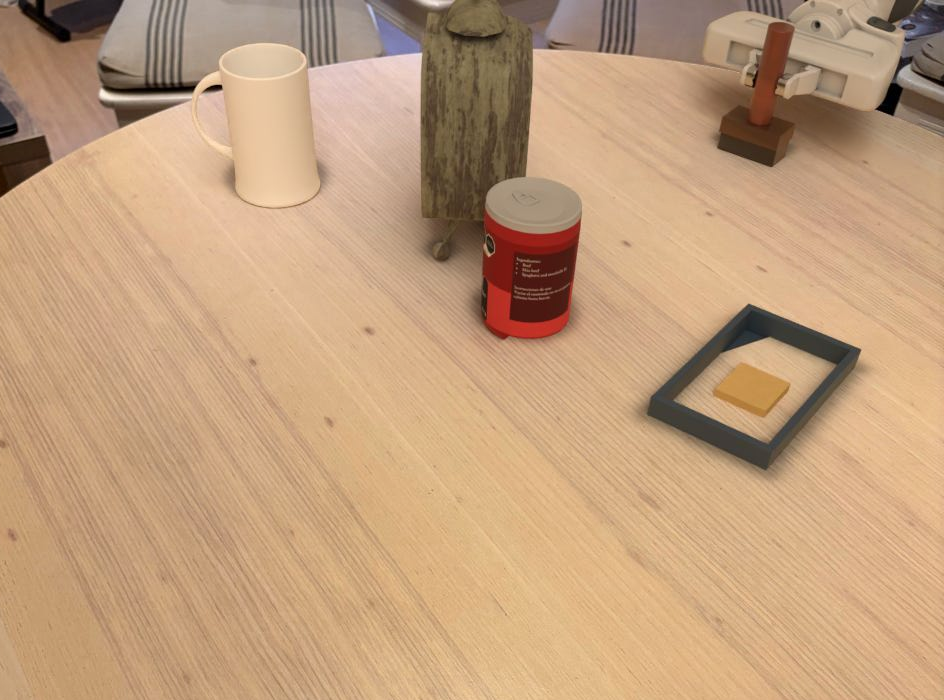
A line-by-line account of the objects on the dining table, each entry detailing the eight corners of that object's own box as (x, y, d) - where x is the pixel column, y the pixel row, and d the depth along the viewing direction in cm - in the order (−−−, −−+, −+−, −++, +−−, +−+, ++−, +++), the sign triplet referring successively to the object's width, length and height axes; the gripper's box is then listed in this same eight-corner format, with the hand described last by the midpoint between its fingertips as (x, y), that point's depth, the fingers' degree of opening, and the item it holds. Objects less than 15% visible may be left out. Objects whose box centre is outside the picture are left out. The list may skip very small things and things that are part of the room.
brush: (731, 136, 113) (759, 12, 103) (787, 155, 110) (821, 30, 100) (715, 148, 111) (741, 23, 101) (771, 168, 108) (804, 42, 99)
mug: (193, 200, 101) (168, 72, 92) (219, 159, 106) (198, 34, 97) (308, 212, 100) (296, 84, 91) (329, 170, 106) (319, 45, 96)
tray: (740, 330, 90) (748, 302, 87) (851, 377, 86) (862, 349, 84) (644, 425, 81) (650, 396, 79) (762, 480, 77) (772, 452, 75)
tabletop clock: (430, 191, 103) (430, -103, 84) (519, 195, 103) (540, -98, 84) (421, 270, 94) (419, -39, 75) (518, 274, 94) (542, -34, 75)
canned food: (510, 284, 93) (518, 166, 85) (585, 315, 90) (601, 196, 82) (462, 323, 89) (465, 203, 81) (538, 357, 86) (550, 236, 78)
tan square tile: (738, 371, 85) (741, 361, 84) (787, 392, 83) (791, 382, 82) (712, 398, 82) (715, 387, 82) (762, 420, 81) (766, 410, 80)
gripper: (743, -15, 113) (681, 23, 106) (921, 35, 105) (867, 79, 98) (730, 47, 118) (670, 87, 110) (899, 98, 110) (846, 145, 103)
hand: (764, 84), depth 104 cm, fingers closed on brush, 2 cm apart
